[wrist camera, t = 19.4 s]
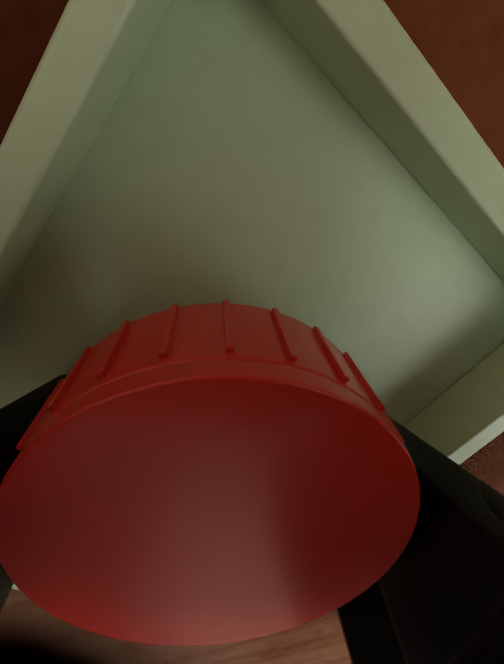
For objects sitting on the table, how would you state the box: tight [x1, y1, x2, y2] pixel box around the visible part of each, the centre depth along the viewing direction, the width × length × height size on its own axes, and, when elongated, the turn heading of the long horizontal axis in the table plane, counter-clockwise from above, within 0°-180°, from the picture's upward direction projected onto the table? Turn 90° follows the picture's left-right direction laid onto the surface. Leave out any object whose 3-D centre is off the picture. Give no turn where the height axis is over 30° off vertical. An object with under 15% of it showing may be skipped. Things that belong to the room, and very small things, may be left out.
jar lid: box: [0, 300, 420, 646], centre depth 7 cm, size 7×7×2 cm
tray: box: [0, 0, 504, 590], centre depth 8 cm, size 11×14×2 cm
